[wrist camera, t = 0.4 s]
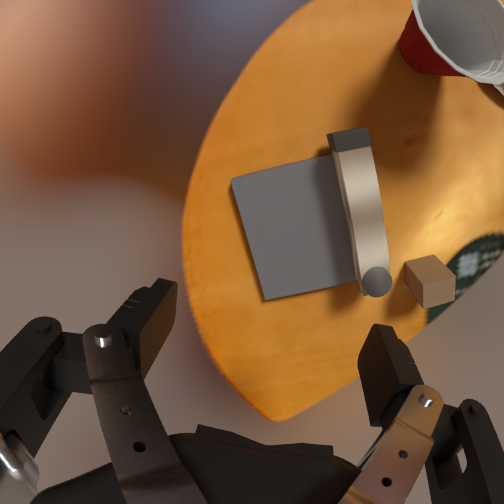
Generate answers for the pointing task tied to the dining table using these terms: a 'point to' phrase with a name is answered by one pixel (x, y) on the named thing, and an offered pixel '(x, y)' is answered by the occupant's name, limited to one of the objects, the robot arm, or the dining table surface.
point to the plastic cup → (456, 39)
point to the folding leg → (362, 209)
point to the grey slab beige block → (314, 234)
